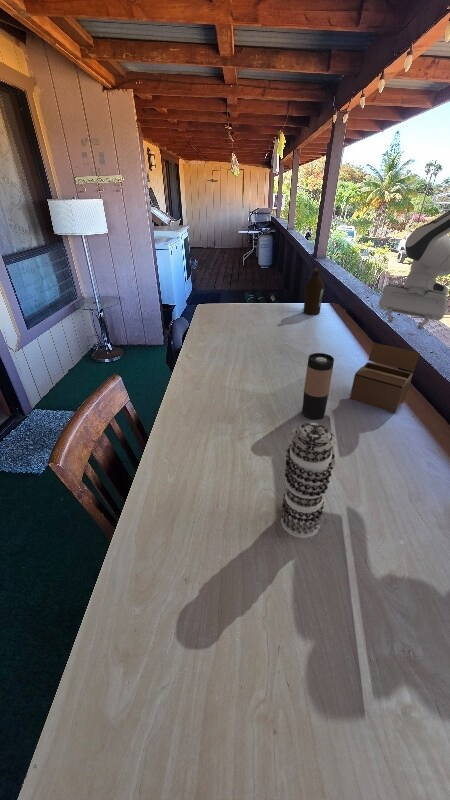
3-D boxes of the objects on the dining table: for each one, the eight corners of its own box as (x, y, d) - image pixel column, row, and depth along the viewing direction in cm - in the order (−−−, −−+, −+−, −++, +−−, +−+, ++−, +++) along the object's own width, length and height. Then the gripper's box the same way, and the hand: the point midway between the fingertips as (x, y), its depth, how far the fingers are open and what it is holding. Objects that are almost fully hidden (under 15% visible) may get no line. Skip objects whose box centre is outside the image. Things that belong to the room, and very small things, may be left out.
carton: (348, 402, 121) (354, 373, 115) (361, 387, 130) (368, 360, 124) (394, 416, 113) (403, 386, 107) (404, 400, 122) (413, 371, 116)
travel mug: (311, 405, 119) (318, 350, 109) (329, 414, 114) (339, 358, 104) (296, 413, 115) (302, 357, 105) (315, 423, 110) (324, 365, 100)
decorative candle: (284, 501, 83) (294, 412, 70) (324, 512, 80) (342, 422, 67) (274, 531, 75) (283, 438, 62) (317, 545, 72) (336, 450, 59)
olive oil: (301, 314, 205) (306, 270, 193) (303, 309, 214) (307, 266, 201) (320, 316, 203) (326, 271, 190) (320, 310, 212) (326, 267, 199)
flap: (373, 342, 122) (373, 342, 122) (368, 360, 124) (368, 360, 124) (420, 352, 114) (420, 352, 114) (413, 371, 116) (413, 371, 116)
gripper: (386, 277, 119) (372, 314, 118) (453, 288, 111) (439, 328, 110) (384, 287, 125) (371, 322, 123) (448, 298, 116) (435, 336, 115)
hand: (404, 325), depth 116 cm, fingers open, 8 cm apart
